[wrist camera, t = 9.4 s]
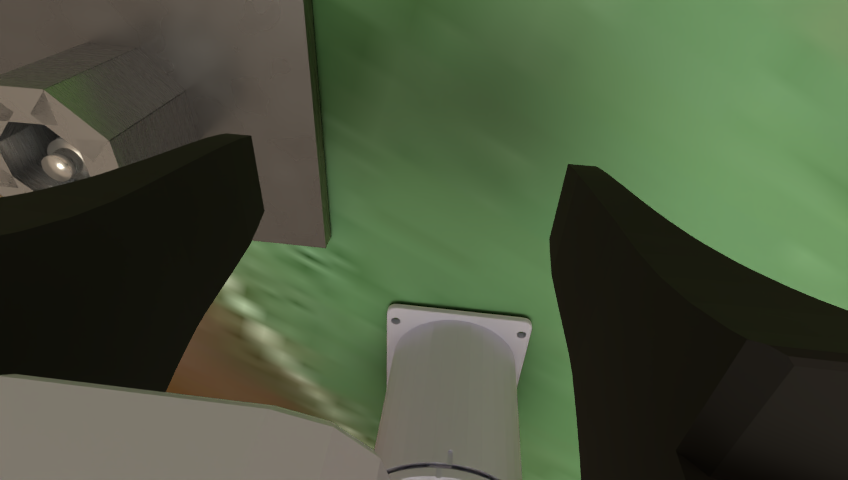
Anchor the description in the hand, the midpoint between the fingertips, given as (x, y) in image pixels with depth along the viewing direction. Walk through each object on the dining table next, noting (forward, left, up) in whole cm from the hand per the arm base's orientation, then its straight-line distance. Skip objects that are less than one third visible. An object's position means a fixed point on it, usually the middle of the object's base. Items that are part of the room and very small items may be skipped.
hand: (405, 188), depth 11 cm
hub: (-3, +13, -9) cm, 16 cm away
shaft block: (-3, +13, -10) cm, 17 cm away
